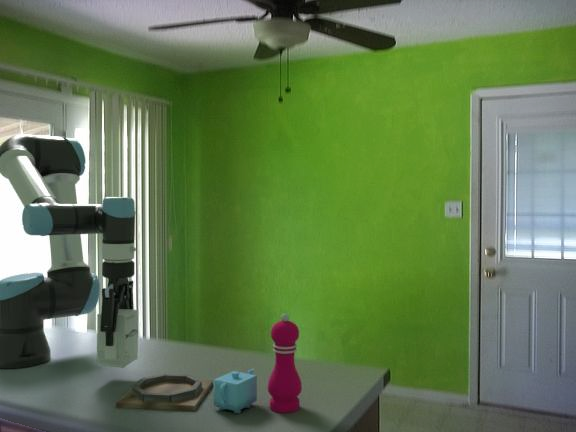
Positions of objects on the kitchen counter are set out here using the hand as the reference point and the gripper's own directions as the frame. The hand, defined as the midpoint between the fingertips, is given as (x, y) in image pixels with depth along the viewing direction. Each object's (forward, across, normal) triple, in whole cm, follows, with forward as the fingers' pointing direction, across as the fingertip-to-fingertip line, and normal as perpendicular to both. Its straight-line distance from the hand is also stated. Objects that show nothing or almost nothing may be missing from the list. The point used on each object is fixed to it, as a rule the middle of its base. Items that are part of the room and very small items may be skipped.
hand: (117, 353), depth 135 cm
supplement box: (+2, 0, 0) cm, 2 cm away
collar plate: (+6, -9, -16) cm, 19 cm away
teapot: (+6, -14, -32) cm, 36 cm away
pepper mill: (+6, -14, -42) cm, 45 cm away
